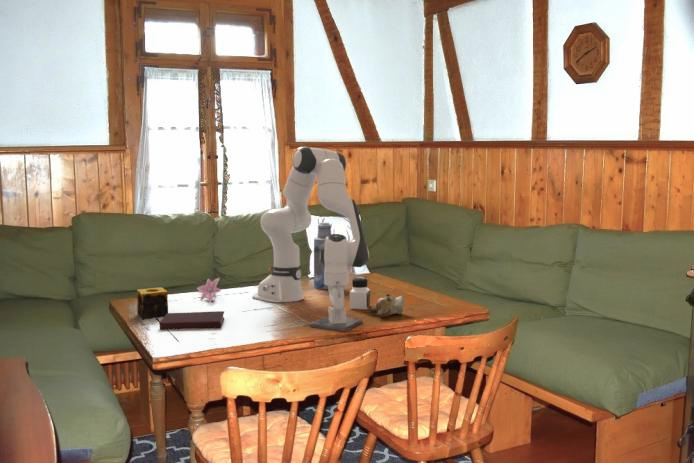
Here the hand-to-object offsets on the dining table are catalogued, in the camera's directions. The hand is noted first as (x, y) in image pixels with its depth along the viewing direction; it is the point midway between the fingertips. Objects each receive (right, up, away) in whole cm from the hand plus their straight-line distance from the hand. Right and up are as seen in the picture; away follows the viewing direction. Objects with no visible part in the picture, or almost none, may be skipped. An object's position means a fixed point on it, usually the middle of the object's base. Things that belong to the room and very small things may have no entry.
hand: (336, 316), depth 254 cm
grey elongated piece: (-7, +5, +67) cm, 68 cm away
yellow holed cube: (-72, -2, +15) cm, 73 cm away
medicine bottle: (+9, 0, +27) cm, 29 cm away
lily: (-55, +2, +43) cm, 70 cm away
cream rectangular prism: (0, -2, 0) cm, 2 cm away
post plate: (0, -3, 0) cm, 3 cm away
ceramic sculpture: (+19, -2, +14) cm, 24 cm away
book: (-53, -4, +2) cm, 53 cm away
